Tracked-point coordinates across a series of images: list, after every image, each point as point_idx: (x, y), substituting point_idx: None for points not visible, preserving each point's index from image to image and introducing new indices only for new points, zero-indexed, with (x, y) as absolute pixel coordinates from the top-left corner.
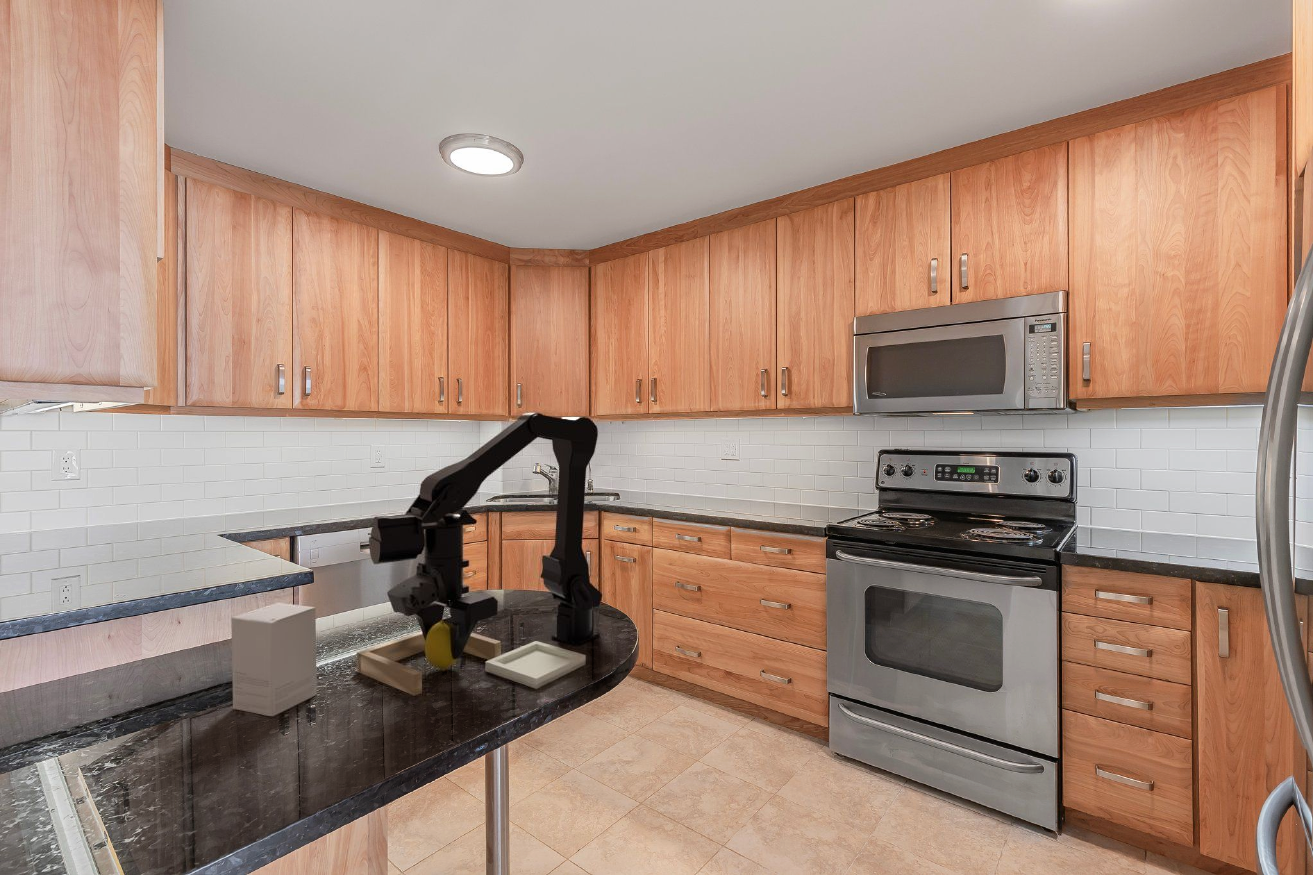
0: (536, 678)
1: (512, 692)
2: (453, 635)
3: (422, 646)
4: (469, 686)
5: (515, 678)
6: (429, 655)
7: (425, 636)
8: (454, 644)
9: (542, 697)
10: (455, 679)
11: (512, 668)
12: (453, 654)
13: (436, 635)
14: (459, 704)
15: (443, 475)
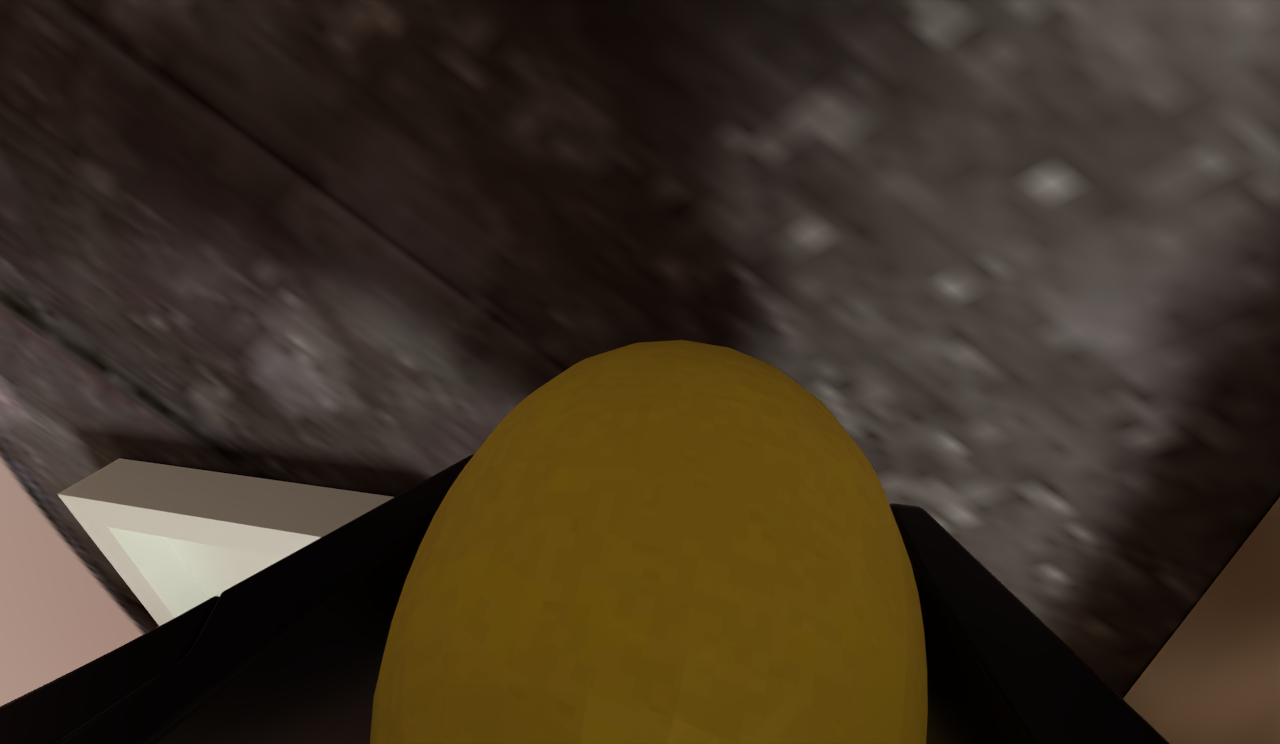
0: (60, 496)
1: (126, 379)
2: (115, 676)
3: (1248, 628)
4: (321, 311)
5: (226, 486)
6: (663, 358)
7: (1017, 657)
8: (295, 558)
9: (23, 407)
10: (487, 340)
11: (243, 539)
12: (437, 477)
13: (473, 639)
14: (68, 61)
15: None
